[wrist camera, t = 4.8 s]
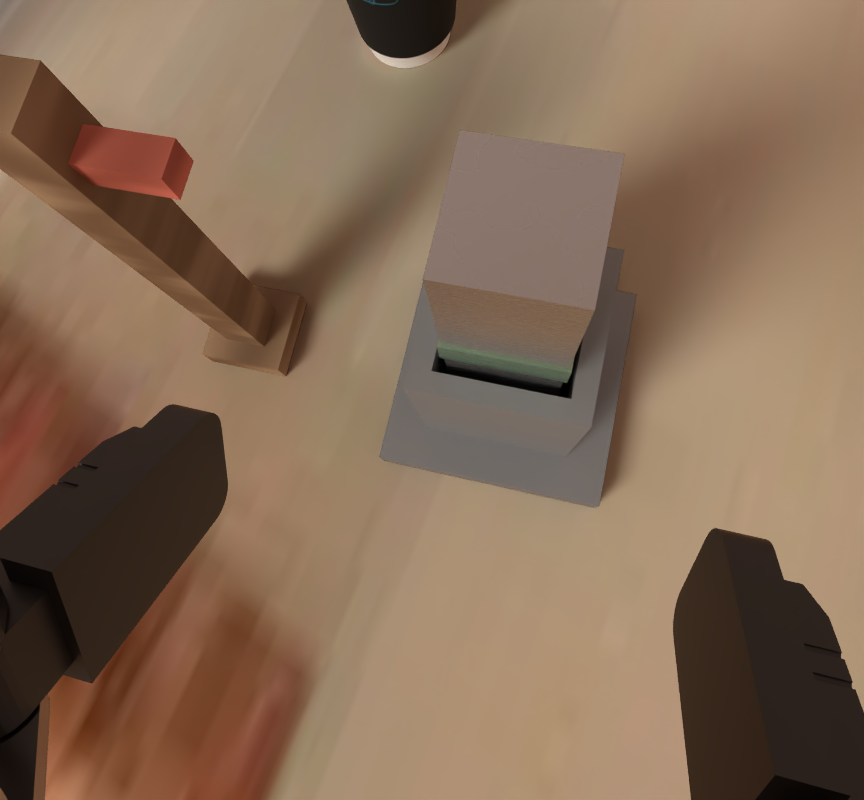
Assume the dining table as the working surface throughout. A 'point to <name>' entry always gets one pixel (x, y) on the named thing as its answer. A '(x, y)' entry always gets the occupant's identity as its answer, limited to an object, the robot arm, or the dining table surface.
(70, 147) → the height gauge
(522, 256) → the steel column
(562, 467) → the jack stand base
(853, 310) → the dining table surface
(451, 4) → the dixie cup
